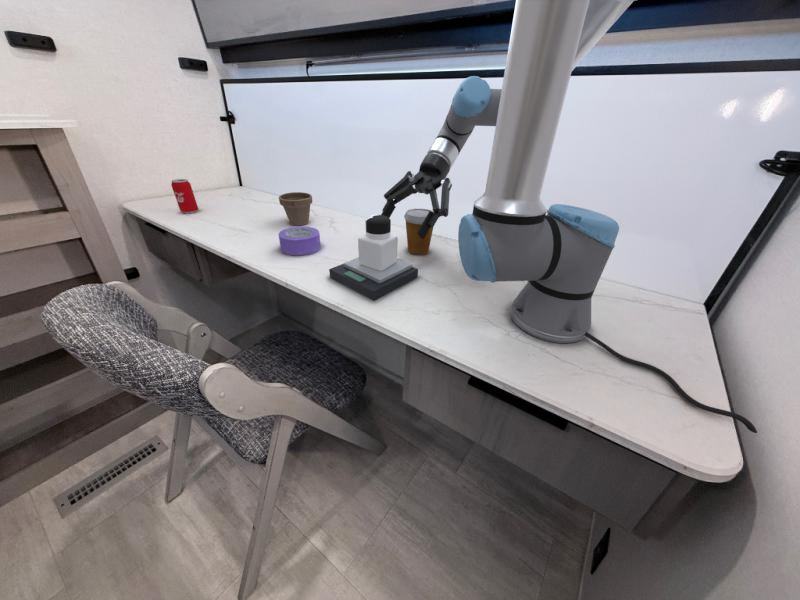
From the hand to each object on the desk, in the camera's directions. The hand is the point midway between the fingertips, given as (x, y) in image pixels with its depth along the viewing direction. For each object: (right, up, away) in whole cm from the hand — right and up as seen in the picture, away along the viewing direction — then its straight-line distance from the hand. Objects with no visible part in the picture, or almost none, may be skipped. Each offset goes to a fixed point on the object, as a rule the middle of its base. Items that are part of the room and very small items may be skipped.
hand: (399, 230), depth 79 cm
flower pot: (-37, +10, +35) cm, 52 cm away
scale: (-7, -12, 0) cm, 14 cm away
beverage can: (-84, +17, +43) cm, 96 cm away
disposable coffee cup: (+6, -3, +15) cm, 17 cm away
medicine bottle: (-5, -9, -1) cm, 11 cm away
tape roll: (-30, -2, +15) cm, 34 cm away
